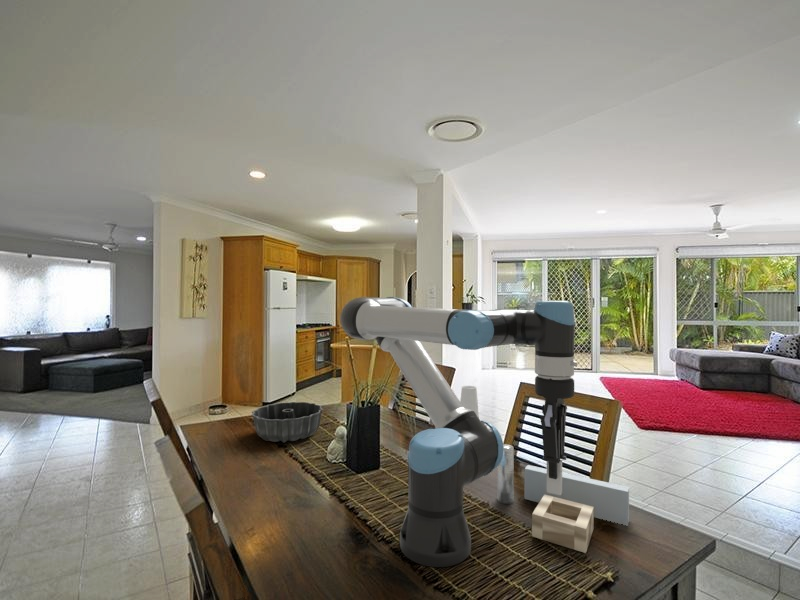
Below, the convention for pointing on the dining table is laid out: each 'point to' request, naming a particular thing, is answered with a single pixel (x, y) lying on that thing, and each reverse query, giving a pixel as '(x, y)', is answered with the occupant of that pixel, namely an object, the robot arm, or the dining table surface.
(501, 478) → the metal peg
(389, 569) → the dining table surface
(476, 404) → the champagne flute
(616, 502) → the wall
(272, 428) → the bundt pan
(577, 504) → the square wooden frame
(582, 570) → the dining table surface
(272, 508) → the dining table surface
